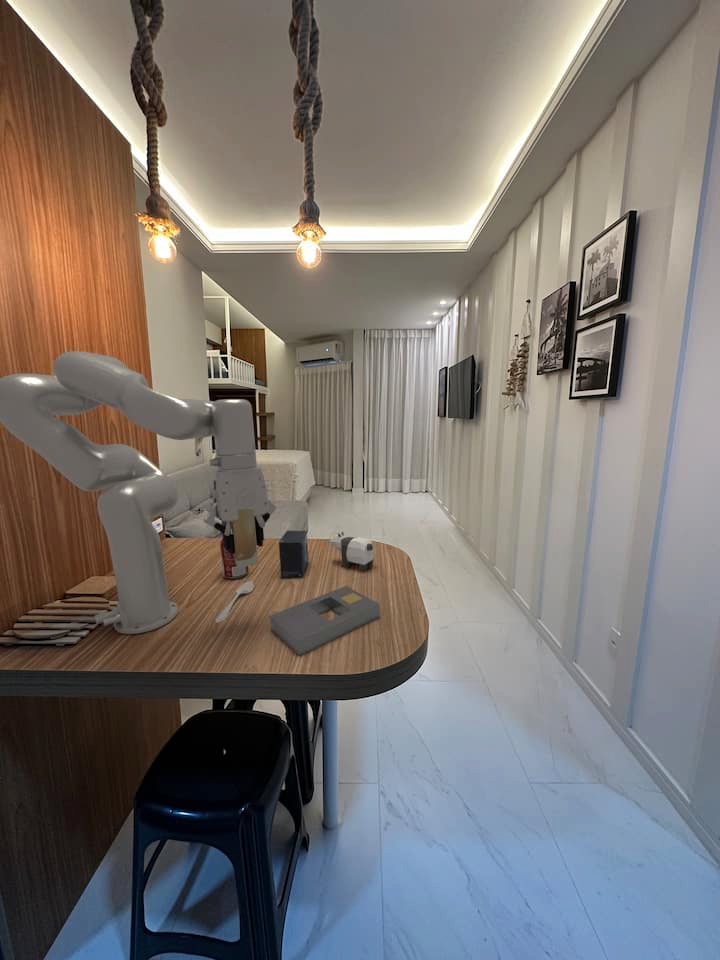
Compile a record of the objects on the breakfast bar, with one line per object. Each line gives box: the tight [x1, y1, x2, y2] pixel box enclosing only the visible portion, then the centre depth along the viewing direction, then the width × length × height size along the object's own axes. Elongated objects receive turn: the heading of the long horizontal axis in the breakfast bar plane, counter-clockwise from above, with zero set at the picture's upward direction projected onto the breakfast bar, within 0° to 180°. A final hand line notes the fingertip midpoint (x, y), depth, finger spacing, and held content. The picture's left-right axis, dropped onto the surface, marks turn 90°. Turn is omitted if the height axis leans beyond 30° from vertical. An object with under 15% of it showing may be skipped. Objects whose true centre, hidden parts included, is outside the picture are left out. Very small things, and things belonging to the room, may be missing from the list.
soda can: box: [219, 531, 249, 580], centre depth 106 cm, size 7×7×12 cm
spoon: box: [215, 580, 255, 623], centre depth 90 cm, size 4×21×2 cm, turn 173°
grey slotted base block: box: [269, 585, 381, 656], centre depth 81 cm, size 20×12×3 cm, turn 129°
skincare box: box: [231, 507, 259, 568], centre depth 78 cm, size 6×4×12 cm
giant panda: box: [329, 531, 375, 573], centre depth 110 cm, size 15×6×10 cm, turn 56°
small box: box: [278, 530, 309, 579], centre depth 108 cm, size 11×6×10 cm, turn 179°
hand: (244, 547), depth 79 cm, fingers closed on skincare box, 5 cm apart
